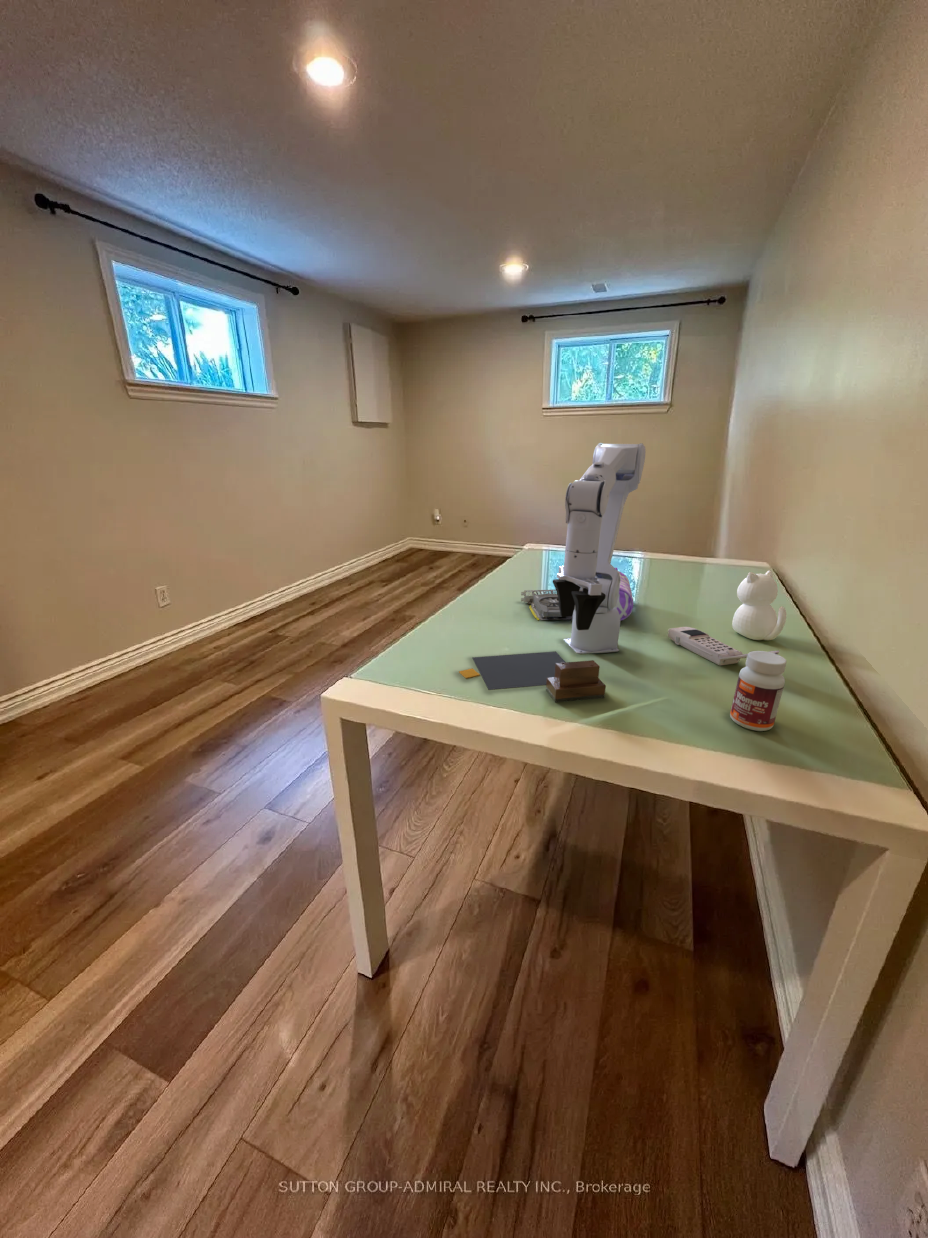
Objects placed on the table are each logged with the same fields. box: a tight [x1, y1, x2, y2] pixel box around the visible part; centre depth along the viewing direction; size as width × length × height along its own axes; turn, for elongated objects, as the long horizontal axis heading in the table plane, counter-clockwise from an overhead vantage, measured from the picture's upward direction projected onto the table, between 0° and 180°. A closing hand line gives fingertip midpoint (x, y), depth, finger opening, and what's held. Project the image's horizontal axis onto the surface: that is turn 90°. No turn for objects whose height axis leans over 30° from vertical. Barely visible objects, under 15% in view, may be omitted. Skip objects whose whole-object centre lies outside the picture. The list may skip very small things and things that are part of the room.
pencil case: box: [614, 567, 634, 622], centre depth 128 cm, size 22×9×10 cm, turn 167°
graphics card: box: [520, 589, 573, 621], centre depth 128 cm, size 17×4×12 cm
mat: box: [471, 651, 566, 691], centre depth 95 cm, size 18×14×1 cm
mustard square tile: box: [458, 667, 481, 680], centre depth 92 cm, size 3×3×1 cm
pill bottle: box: [729, 650, 787, 732], centre depth 76 cm, size 6×6×11 cm
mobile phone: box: [667, 626, 780, 666], centre depth 101 cm, size 6×6×25 cm
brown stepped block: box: [545, 659, 607, 703], centre depth 85 cm, size 9×4×6 cm, turn 101°
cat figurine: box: [731, 569, 787, 641], centre depth 110 cm, size 9×12×15 cm
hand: (574, 622), depth 91 cm, fingers open, 7 cm apart
